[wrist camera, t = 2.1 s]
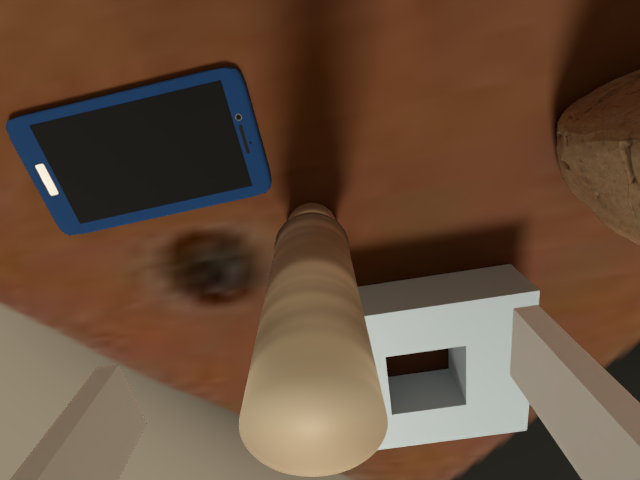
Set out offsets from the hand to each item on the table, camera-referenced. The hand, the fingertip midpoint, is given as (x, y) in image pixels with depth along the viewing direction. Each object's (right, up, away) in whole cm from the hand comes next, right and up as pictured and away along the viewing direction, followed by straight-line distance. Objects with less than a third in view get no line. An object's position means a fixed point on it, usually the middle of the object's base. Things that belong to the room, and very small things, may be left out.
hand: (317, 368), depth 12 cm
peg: (0, +5, +11) cm, 13 cm away
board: (+7, -4, +15) cm, 17 cm away
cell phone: (-10, +9, +10) cm, 17 cm away
